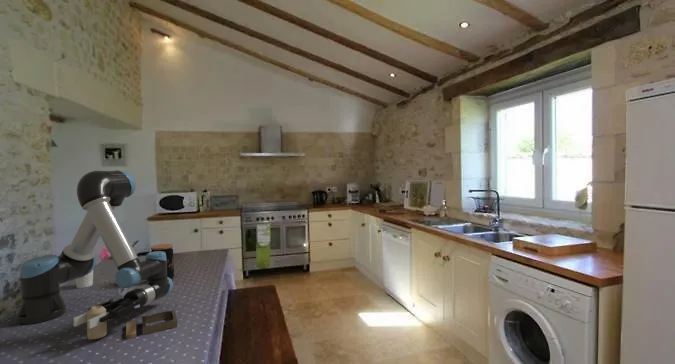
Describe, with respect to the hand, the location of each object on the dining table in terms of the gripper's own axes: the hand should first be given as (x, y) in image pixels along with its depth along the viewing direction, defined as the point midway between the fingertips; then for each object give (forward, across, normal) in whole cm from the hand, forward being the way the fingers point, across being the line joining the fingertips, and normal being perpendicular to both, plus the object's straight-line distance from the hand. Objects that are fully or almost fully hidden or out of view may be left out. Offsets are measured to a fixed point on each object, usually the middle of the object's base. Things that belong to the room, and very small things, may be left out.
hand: (81, 323), depth 112 cm
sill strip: (-12, -7, -8) cm, 16 cm away
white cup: (-49, +59, -8) cm, 77 cm away
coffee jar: (-65, +26, -8) cm, 71 cm away
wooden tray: (-19, -13, -7) cm, 24 cm away
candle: (-5, 0, -7) cm, 8 cm away
